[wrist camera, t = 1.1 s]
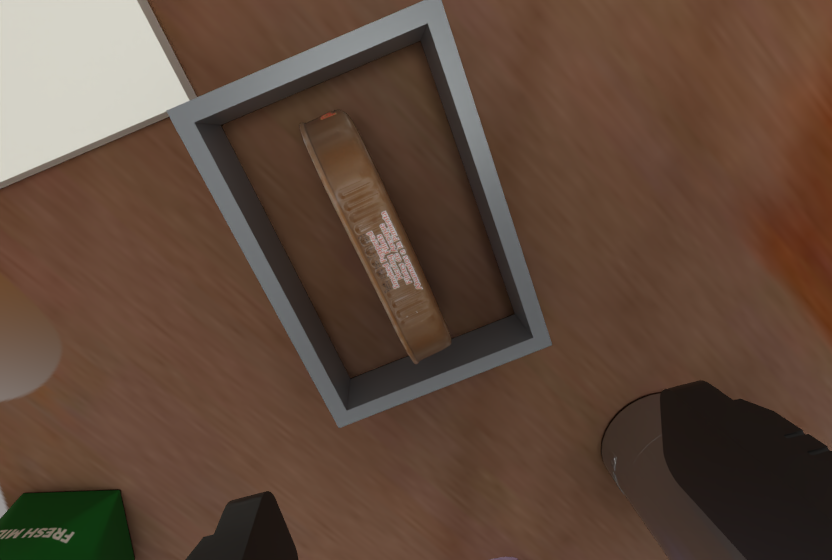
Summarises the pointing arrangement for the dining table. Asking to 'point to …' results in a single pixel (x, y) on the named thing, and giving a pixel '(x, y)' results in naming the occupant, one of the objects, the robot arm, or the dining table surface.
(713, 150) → the dining table surface
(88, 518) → the milk carton
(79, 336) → the dining table surface
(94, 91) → the cream board
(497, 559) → the clip
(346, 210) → the tin
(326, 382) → the bin
